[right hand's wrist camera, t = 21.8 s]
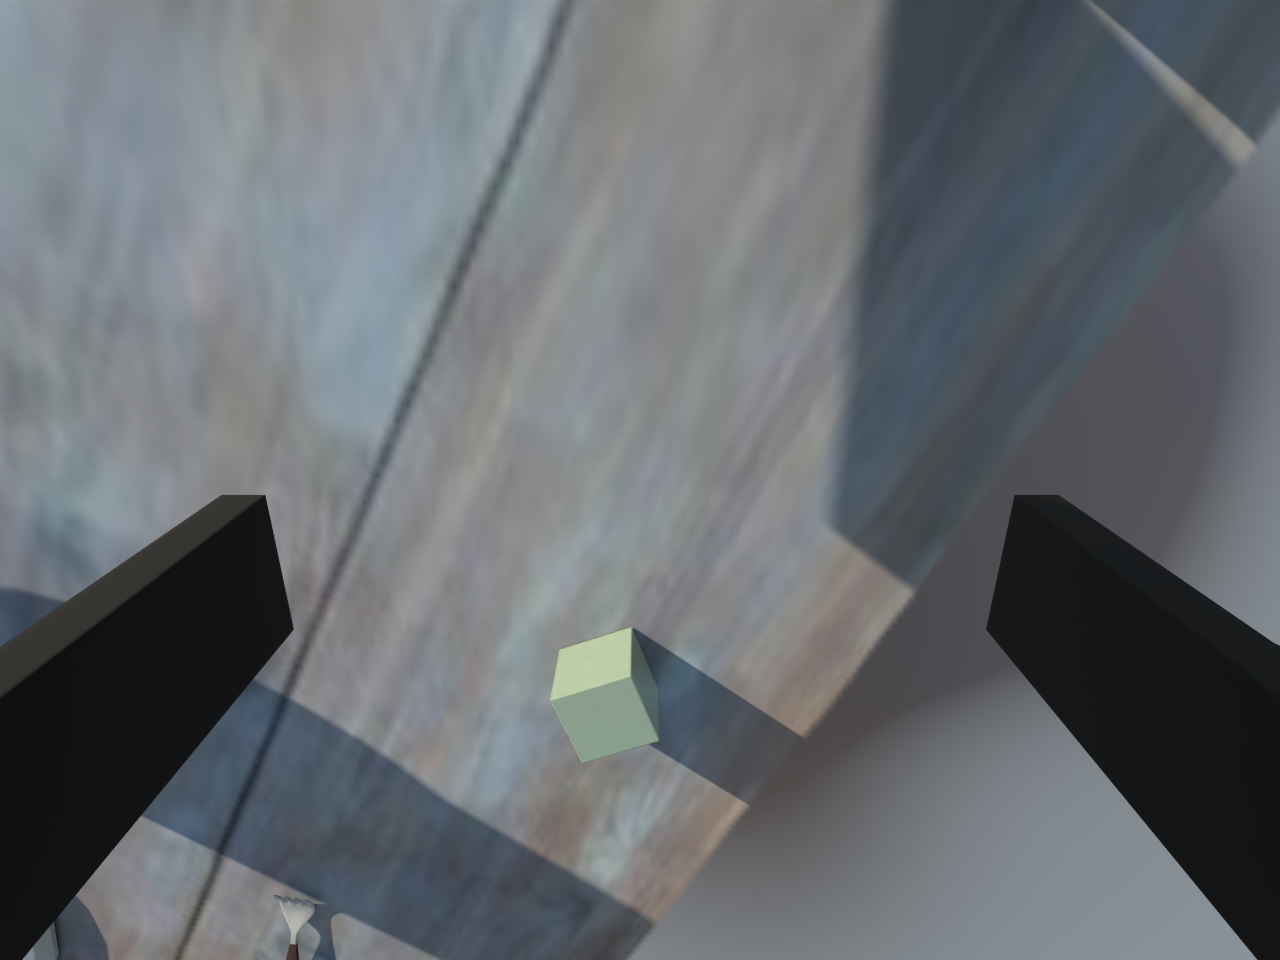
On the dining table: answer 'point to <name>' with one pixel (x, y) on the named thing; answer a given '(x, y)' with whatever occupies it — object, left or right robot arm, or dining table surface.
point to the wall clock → (45, 947)
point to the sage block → (606, 695)
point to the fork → (295, 920)
